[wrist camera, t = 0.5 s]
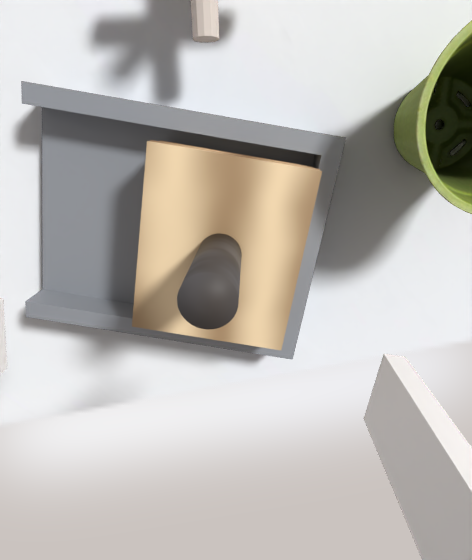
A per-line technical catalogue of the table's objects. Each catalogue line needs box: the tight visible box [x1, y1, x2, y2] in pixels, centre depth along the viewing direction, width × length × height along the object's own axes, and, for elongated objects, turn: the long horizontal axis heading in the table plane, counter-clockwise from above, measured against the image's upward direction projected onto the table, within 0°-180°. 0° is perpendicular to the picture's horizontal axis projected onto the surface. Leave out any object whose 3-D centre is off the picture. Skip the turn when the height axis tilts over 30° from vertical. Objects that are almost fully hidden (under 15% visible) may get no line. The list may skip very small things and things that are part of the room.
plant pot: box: [394, 21, 472, 214], centre depth 27 cm, size 12×12×11 cm
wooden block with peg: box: [132, 140, 322, 350], centre depth 27 cm, size 12×14×15 cm
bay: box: [21, 81, 346, 359], centre depth 34 cm, size 24×19×4 cm
